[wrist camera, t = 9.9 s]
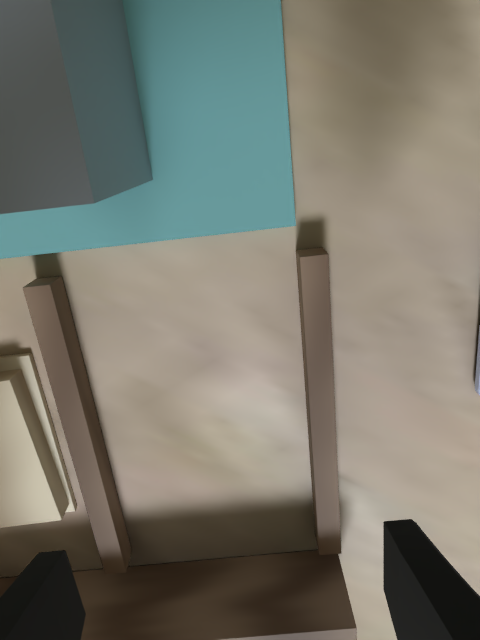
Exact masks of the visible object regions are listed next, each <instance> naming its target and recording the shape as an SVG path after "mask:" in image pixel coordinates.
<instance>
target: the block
mask: <svg viewBox="0 0 480 640" xmlns="http://www.w3.org/2000/svg"><path fill="white" fill-rule="evenodd" d="M152 180H153V178H152V172H151V166H150V160H149V155H148V149H147V143H146V137H145V131H144V125H143V119H142V113H141V107H140V102H139V96H138V90H137V84H136V78H135V72H134V66H133V60H132V54H131V49H130V43H129V37H128V31H127V25H126V19H125V13H124V7H123V1H122V0H0V214H7V213H15V212H24V211H33V210H42V209H50V208H59V207H68V206H76V205H85V204H94V203H97V202H99V201H102V200H104V199H107V198H109V197H112V196H114V195H117V194H119V193H122V192H124V191H127V190H129V189H132V188H134V187H137V186H139V185H142V184H144V183H147V182H149V181H152Z"/></svg>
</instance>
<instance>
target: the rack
mask: <svg viewBox="0 0 480 640" xmlns="http://www.w3.org/2000/svg"><path fill="white" fill-rule="evenodd" d="M296 259H297V273H298V288H299V303H300V317H301V332H302V347H303V361H304V376H305V391H306V406H307V420H308V435H309V450H310V464H311V479H312V494H313V508H314V523H315V536H316V541H317V546H318V550H314V551H302V552H291V553H280V554H268V555H257V556H246V557H234V558H223V559H212V560H201V561H189V562H178V563H167V564H155V565H144V566H133V567H128V564H129V560H130V556H131V552H132V550H131V546H130V542H129V538H128V534H127V530H126V526H125V522H124V518H123V515H122V511H121V507H120V503H119V499H118V495H117V491H116V487H115V483H114V479H113V475H112V471H111V467H110V463H109V460H108V456H107V452H106V448H105V444H104V440H103V436H102V432H101V428H100V424H99V420H98V416H97V412H96V409H95V405H94V401H93V397H92V393H91V389H90V385H89V381H88V377H87V373H86V369H85V365H84V361H83V358H82V354H81V350H80V346H79V342H78V338H77V334H76V330H75V326H74V322H73V318H72V314H71V310H70V307H69V303H68V299H67V295H66V291H65V287H64V283H63V279H62V276H57V277H48V278H39V279H35V280H34V281H32V282H31V283H29V284H27V285H26V286H24V287H23V291H24V294H25V298H26V301H27V305H28V308H29V312H30V315H31V319H32V322H33V326H34V329H35V333H36V336H37V339H38V343H39V346H40V350H41V353H42V357H43V360H44V364H45V367H46V371H47V374H48V378H49V381H50V385H51V388H52V391H53V395H54V398H55V402H56V405H57V409H58V412H59V416H60V419H61V423H62V426H63V430H64V433H65V437H66V440H67V443H68V447H69V450H70V454H71V457H72V461H73V464H74V468H75V471H76V475H77V478H78V482H79V485H80V489H81V492H82V495H83V499H84V502H85V506H86V509H87V513H88V516H89V520H90V523H91V527H92V530H93V534H94V537H95V541H96V544H97V547H98V551H99V554H100V558H101V561H102V565H103V568H104V569H99V570H87V571H76V572H73V576H74V579H75V582H76V585H77V588H78V591H79V594H80V597H81V600H82V604H83V607H84V610H85V613H86V616H85V621H84V626H83V631H82V636H81V640H357V628H356V624H355V620H354V616H353V612H352V608H351V604H350V600H349V596H348V592H347V588H346V584H345V580H344V576H343V572H342V568H341V564H340V560H339V556H338V554H340V553H341V536H340V513H339V490H338V466H337V443H336V420H335V397H334V373H333V350H332V327H331V304H330V280H329V257H328V253H327V252H326V251H325V250H324V249H323V247H321V248H312V249H303V250H296ZM16 579H17V577H8V578H0V597H1V596H2V595H3V594H4V592H5V591H6V590H7V589H8V588H9V587H10V585H11V584H12V583H13V582H14V581H15V580H16Z"/></svg>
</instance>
